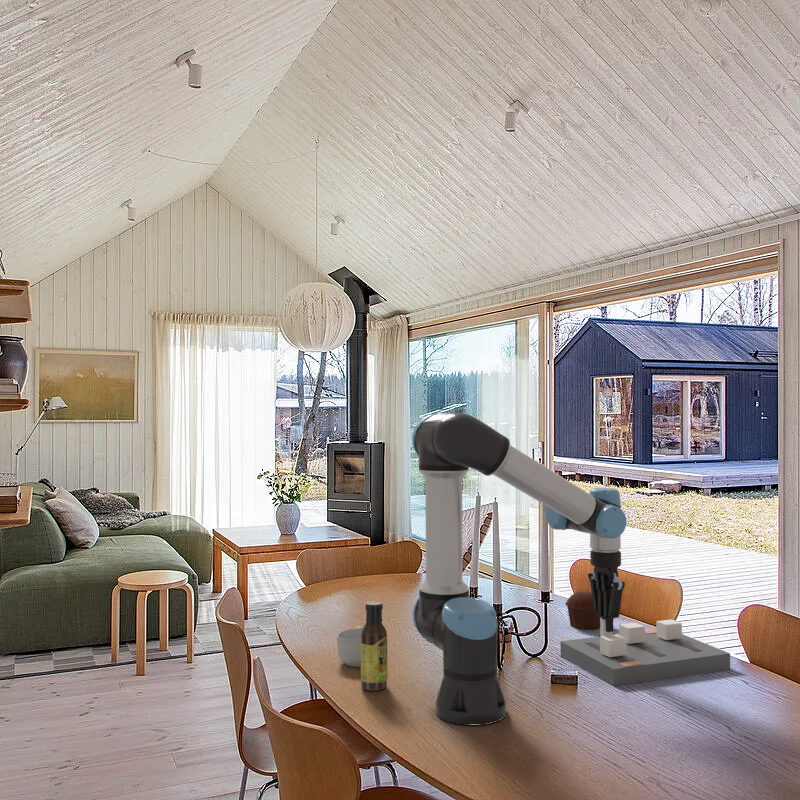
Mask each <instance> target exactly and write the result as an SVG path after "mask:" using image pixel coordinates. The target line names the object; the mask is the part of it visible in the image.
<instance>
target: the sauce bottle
mask: <svg viewBox="0 0 800 800" xmlns="http://www.w3.org/2000/svg"><path fill="white" fill-rule="evenodd" d="M383 608H384V607H383V602H381V601H374V600H373V601H372V600H370V601H367V602H365V613H366V614H365V616H366V617H365V618H366V619H365V624H364V625H363V627H362V628H363V629H362V632H361V667H360V680H361V681H360V683H361V685H360V686H361V688H362V689H363V690H365V691H374V692H375V691H381V690H384V689H386V688H387V685H388V684H387V680H388V634H387V629H386V628H385V625H383V616H382V615H383Z"/></svg>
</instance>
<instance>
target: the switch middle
mask: <svg viewBox="0 0 800 800" xmlns="http://www.w3.org/2000/svg"><path fill="white" fill-rule="evenodd" d="M618 631H619V632H618V634H620V636H621V637H624V638H626V643H628V644H632V643H640V642H645V631H646V628H645V625H642V624H640V623H637V622H629V623H621V624H619V630H618Z"/></svg>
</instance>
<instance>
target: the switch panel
mask: <svg viewBox="0 0 800 800" xmlns="http://www.w3.org/2000/svg"><path fill="white" fill-rule="evenodd" d="M613 635H619V636H620V633H615V634H614V633H613ZM559 643H560V645H559V646H560V657H561V658H562V659H564V660H566V661H568V662H570V663H571V664H574V665H575V666H577V667H578V668H580V669H582V670H584V671H586V672H588V673H589V674H590V675H592V676H594V675H595V676H594V677H596V678H597V679H600V680H601V681H603V682H605V683H607V684H608V685H610V686H612V687H617V686H626V685H630V684H631V685H632V684H638V683H644V682H653V681H658V680H666V679H674V678H680V677H686V676H694V675H701V674H709V673H716V672H720V671H721V672H722V671H728V670H731V653H730V652H728V651H726V650H722V649H720V648H718V647H716V646H713V645H710V644H708V643H705V642H702V641H700V640H698V639H695V638H692V637H690V636H687V635H685V634H683V633H682V638H680V639H672V640H664V639H662V638H660V637H657V636H656V629H651V630H650V629H649V630H648V629H647V630H645V642H640V643H632V644H628V643H626V645H627V655H623V656H616V657H608V656H606V655H604V654H602V653H600V636H594V637H586V638H585V637H584V638H575V639H568V640H560V642H559Z"/></svg>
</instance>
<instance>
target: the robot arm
mask: <svg viewBox="0 0 800 800" xmlns="http://www.w3.org/2000/svg"><path fill="white" fill-rule="evenodd" d="M411 437H412V439H411V442H412V446H413V450H414V452H415V453H416V455H417V456H418V471H419V472H420V474H422V476H423V477H424V478H425V581H424V582H422V583H421V584H420V586H419V588H418V591H419V592H418V594H419V595H418V598H417V600H416V601H415V602H414V605H413V609H412V621H413V625H414V627H415V629H416V630H417V632H418V633H419V634H420V636H421V637H422V638H423V639H424V640H426V641H427V642H428V643H430V644H432V645H433V646H435V647H436V648H438V649H439V650H441V651H442V662H443V663H442V664H443V665H442V666H443V669H442V671H443V674H442V675H443V676H442V679H441V683H440V687H439V690H438V692H437V696H436V699H435V714H436V716H437V715H438V716H439V717H438V718H440V719H441V720H442V721H445V720H446V722H447V721H449V722H448V723H450V722H452V723H451V724H454V723H459V724H486V723H490V722H494V721H497V720H499V719H501V718H502V717H504V715H505V714H506V715H507V706H506V705H507V704H506V699H505V697H504V693H503V691H502V690H503V689H502V687H501V684H500V681H499V677H498V625H499V624H498V620H497V619H498V618H497V612H496V609H495V608H494V606H493V605H491V603H489V602H487V601H485V600H483V599H477V598H474V597H470V587H469V586H468V585H467V584H466V583H465V582H464V580H463V478H464V476H466V475H467V473H468V472H469V469H471V470H475V471H477V472H478V473H480V474H482V475H484V476H487V477H490V476H492V475H493V476H494V477H496V478H498V479H500V480H502V481H503V482H505V483H507V484H508V485H510V486H512V487H514V488H515V489H516V490H519V491H520V492H522V493H524V494H525V495H527V496H528V497H531V498H533V499H534V500H535V501H537V502H539V503H541V504H542V501H543V500H544V501H545V505H544V506H546V509H545V516H546V517H545V518H546V522H547V524H548V525H549V527H550V528H551V529H553V530H558V531H559V530H562V531H565V530H572V531H575V532H576V531H577V532H582V533H586V534H588V535H589V547H590V549H591V550H590V552H589V554H590V555H589V557H590V561H589V562H590V565H591V566H593V572H590V573H587V577H588V580H589V584H590V590H591V591H590V592H591V593H592V599H593V606H594V611H595V612H597V613H598V616H599V617H600V628H599V631H600V632H599V633H600V636H609V635H614V619H616V618H617V619H618V618H619V617H620V612H621V606H622V605H621V603H622V596H623V591H624V588H625V586H626V584H625V583H626V582H625V581H621V580H620V578H619V571H618V568H619V567H620V566H621V565H622V552H621V551H620V550H621V548H622V543H621V538H622V535H623V533H624V532H625V530H626V527H627V523H628V521H627V516H626V514H625V512H624V511H623V509H622V505H621V495H620V491H619V490H618V489H616V488H612V487H611V488H610V487H595V488H591V489H590V490H589V492H587V491H586V490H584V489H582V488H581V487H579V486H577V485H576V484H574V483H572V482H571V481H569V480H568V479H566V478H564V477H562V476H561V475H560V474H558V473H556V472H555V471H554V470H551V469H550V468H548V467H547V466H545V465H543V464H542V463H540V462H538V461H537V460H535V459H534V458H532V457H530V456H528V455H527V454H525V453H524V452H522V451H521V450H519V449H517V448H515V447H514V446H512V445H511V441H510V439H509V438H508V437H507V436H505V435H504V434H501V433H500V432H498V430H496V429H494V428H492V427H491V426H489V425H488V424H486V423H485V422H483V421H481V420H480V419H478V418H476V417H475V416H473V415H470V414H467V413H462V412H443V411H441V412H435V413H432V414H431V413H430V414H429V415H426V416H424V417H423V418H421V419H420V421H419V422H417V424H416V425H415V427H414V429H413V432H412V436H411ZM600 636H599V637H600ZM506 715H505V716H506ZM504 718H505V717H504ZM501 720H502V719H501ZM497 722H498V721H497ZM459 724H458V725H459ZM486 725H487V724H486Z"/></svg>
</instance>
